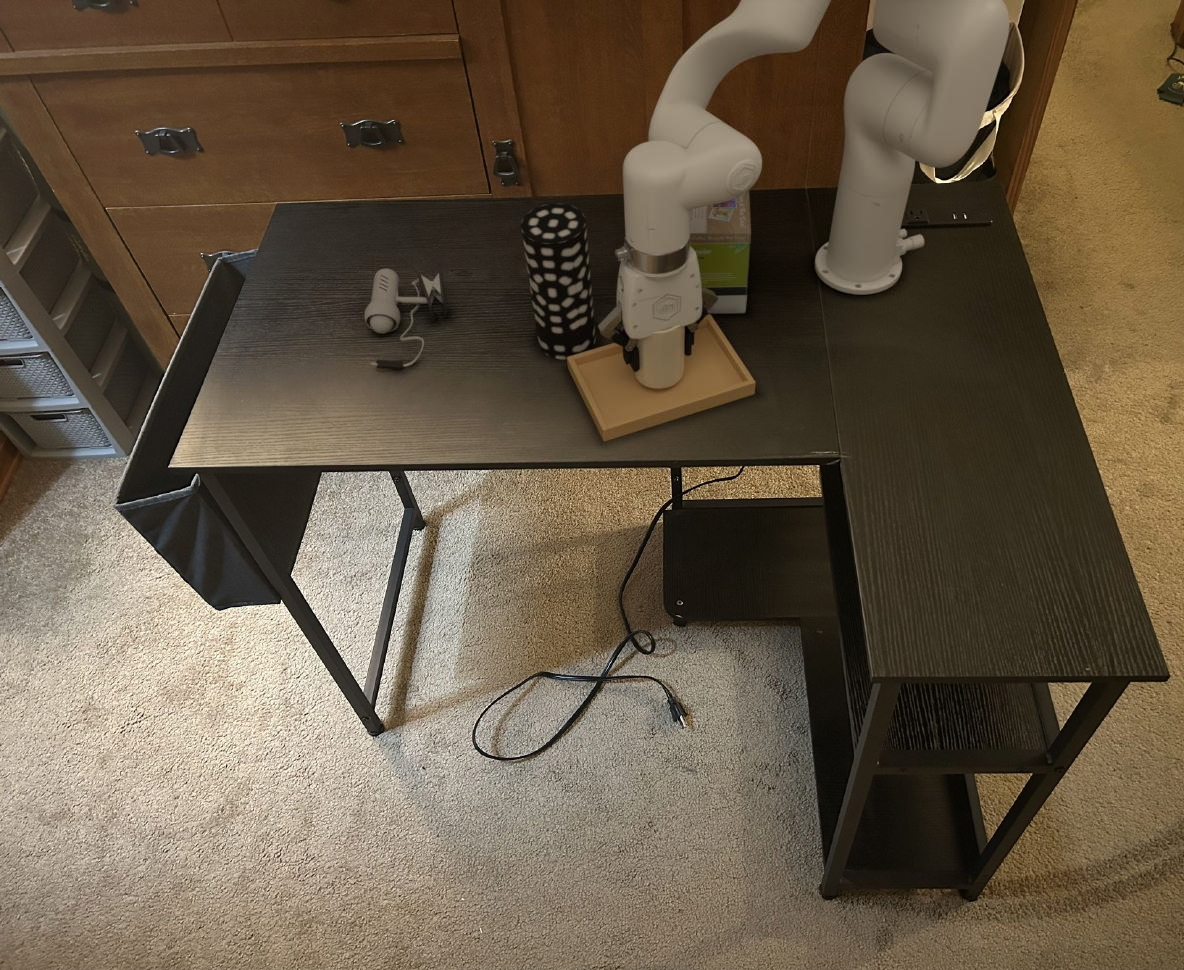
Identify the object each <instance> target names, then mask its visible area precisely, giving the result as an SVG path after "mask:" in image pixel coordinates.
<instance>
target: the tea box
mask: <svg viewBox="0 0 1184 970" xmlns="http://www.w3.org/2000/svg"><path fill="white" fill-rule="evenodd" d="M690 246H691V247H692V248H693V249H694V251H695V252H696V255H697V259H698V264H699V271H700V278H701V286H703V287H705V288H707V289H709V290H711V291H713V292H714V293H715V295H716V296H717V297H718V300H717V302H716V303H715V304H714V305H713V307H712V308H711V309H710V310H708V314H711V315H712V314H713V315H714V314H715V315H716V314H718V315H719V314H721V315H722V314H746V311H747V301H748V286H749V274H750V258H751V246H752V224H751V199H750V189H749V190H748V191H747V192H745V193H744V194H742V195H741V196H739V197H737V198H735V199H732V200H729V201H726V202H722V203H718V204H713V205H708V206H704V207H699V208H695V209H693V210H691V218H690Z"/></svg>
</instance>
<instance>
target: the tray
mask: <svg viewBox="0 0 1184 970" xmlns="http://www.w3.org/2000/svg"><path fill="white" fill-rule="evenodd" d="M566 363H567V370H568V372H569V374H570V376H571V378H572V380H573V382H574V384H575V386H576V387H577V391H578V392H579V394H580V396H581V398H582V400H583V402H584V405H585V406H586V408H587V410H588V412H589V415H590V416H591V418H592V420H593V423H594V425H595V427H596V429H597V431H598V433H599V435H600V437H601V439H602V441H603V442H608V441H611V440H614V439H618V438H619V437H620V438H621V437H624V436H626V435H630V434H633V433H636V432H640V431H643V430H645V429H649V428H652V427H655V426H659V425H661V424H665V423H668V422H671V421H674V420H677V419H681V418H683V417H687V416H690V415H693V414H696V413H700V412H702V411H703V412H704V411H706V410H709V409H712V408H715V407H718V406H722V405H725V404H728V403H731V402H734V401H738V400H740V399H744V398H747V397H750V396H753V395H755V393H756V384H757V382H756V380H755V379H754V378H753V376H752V375H751V373H750V371H749V370H748V368H747V367H746V366H745V364H744V362H743V361H742V359H741V358H740V356H739V355H738V353H737V352H736V350H735V349H734V347H733V345H732V344H731V342H730V341H729V340H728V338H727V337H726V335H725V334H724V332H723V331H722V329H721V328H720V326H719V325H718V323H717V322H716V321H715V319H714V317H713V316H712V314H710V313H708V314H707V315H706V317H705V318H704V319H703V320H702V321H701V322H700V323H699V324H698V330H697V331H695V332H694V345H692V353H691V355H690V356H687V355H685V354H684V373H683V376H682V378H681V379H680V380H679V381H678V382H677V383H676V384H674V385H672V386H670V387H667V388H661V389H656V388H650V387H647V386H645V385H643V384H641V383H640V382H639V381H638V380H637V379H636V377H635V374H634V371H633V369H632V367H631V366H630V364H628V365H626V363H625V361H624V358H623V347H622V346H620V345H618V344H616V343H614V342H613V343H609V344H606V345H603V346H602V345H601V346H599V347H596V348H591V350H589V351H586V352H582V353H579V354H576V355H572V356H569V357H567V359H566Z"/></svg>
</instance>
